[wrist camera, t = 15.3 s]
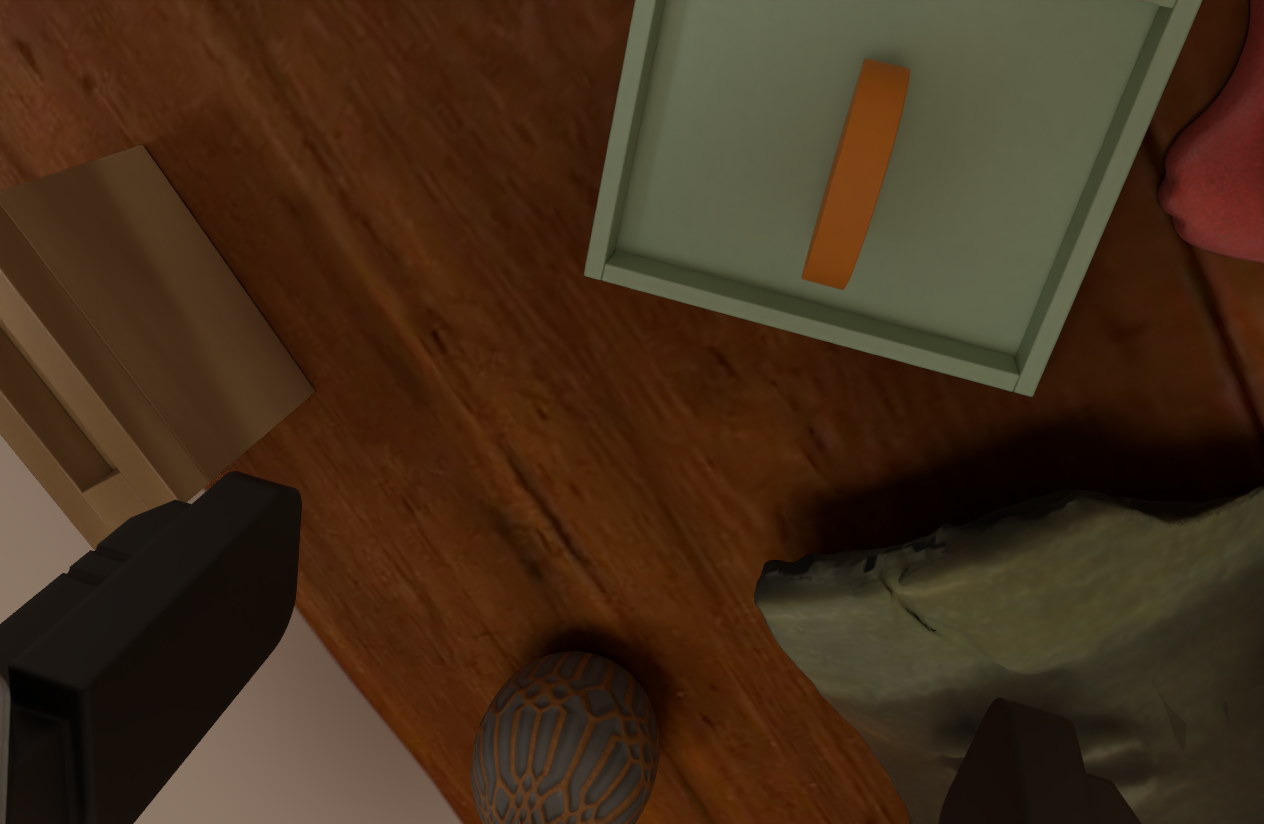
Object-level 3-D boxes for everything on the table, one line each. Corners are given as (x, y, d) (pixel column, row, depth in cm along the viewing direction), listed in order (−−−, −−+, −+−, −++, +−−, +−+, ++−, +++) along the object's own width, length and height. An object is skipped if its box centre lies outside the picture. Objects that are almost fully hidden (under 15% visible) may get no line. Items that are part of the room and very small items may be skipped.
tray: (597, 258, 35) (583, 276, 33) (673, -134, 29) (660, -135, 28) (1025, 373, 33) (1032, 398, 32) (1189, -17, 28) (1207, -11, 26)
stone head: (1041, 1111, 43) (686, 622, 34) (1052, 920, 49) (756, 465, 40) (1672, 1173, 32) (1395, 469, 23) (1581, 915, 38) (1337, 285, 29)
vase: (489, 627, 43) (401, 788, 35) (651, 617, 41) (595, 784, 33) (534, 759, 45) (461, 935, 38) (689, 755, 43) (646, 941, 36)
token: (814, 224, 33) (791, 317, 28) (871, 31, 29) (855, 99, 24) (852, 234, 33) (835, 329, 28) (913, 41, 29) (906, 112, 24)
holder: (238, 432, 41) (93, 550, 34) (66, 198, 38) (-134, 270, 31) (316, 391, 39) (182, 506, 32) (143, 143, 37) (-49, 206, 29)
